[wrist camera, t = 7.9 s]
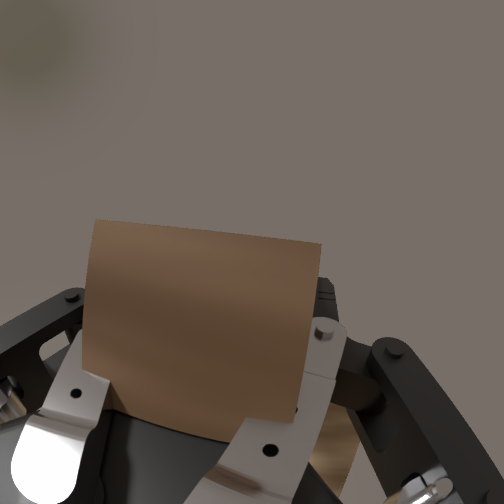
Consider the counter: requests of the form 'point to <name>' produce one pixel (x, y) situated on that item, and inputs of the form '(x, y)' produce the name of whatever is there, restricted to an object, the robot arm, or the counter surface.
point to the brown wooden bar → (198, 324)
